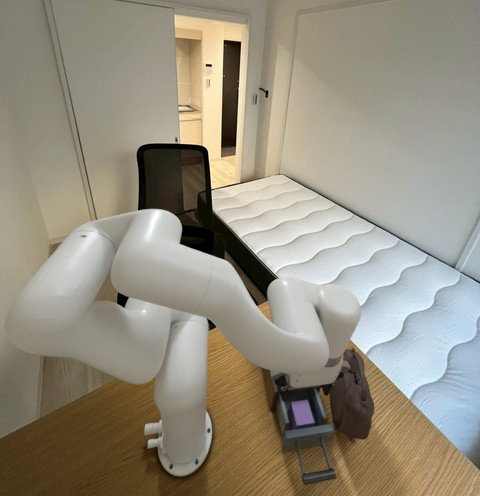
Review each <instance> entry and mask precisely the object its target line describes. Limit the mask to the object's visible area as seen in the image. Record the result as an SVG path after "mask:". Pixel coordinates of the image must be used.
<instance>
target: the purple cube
mask: <svg viewBox="0 0 480 496" xmlns="http://www.w3.org/2000/svg"><path fill="white" fill-rule="evenodd" d="M288 412H289V416H290V420H291V424H292V428H293V430H296V429H302V428H309V427H313V426H314V423H315V422H314V419H313V416H312V412H311V409H310V406H309V403H308V400H302V401H295V402H291V404H290V407H289V410H288Z"/></svg>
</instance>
